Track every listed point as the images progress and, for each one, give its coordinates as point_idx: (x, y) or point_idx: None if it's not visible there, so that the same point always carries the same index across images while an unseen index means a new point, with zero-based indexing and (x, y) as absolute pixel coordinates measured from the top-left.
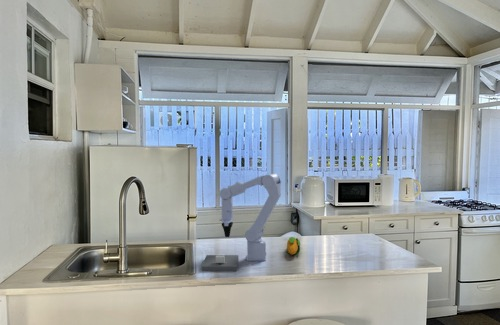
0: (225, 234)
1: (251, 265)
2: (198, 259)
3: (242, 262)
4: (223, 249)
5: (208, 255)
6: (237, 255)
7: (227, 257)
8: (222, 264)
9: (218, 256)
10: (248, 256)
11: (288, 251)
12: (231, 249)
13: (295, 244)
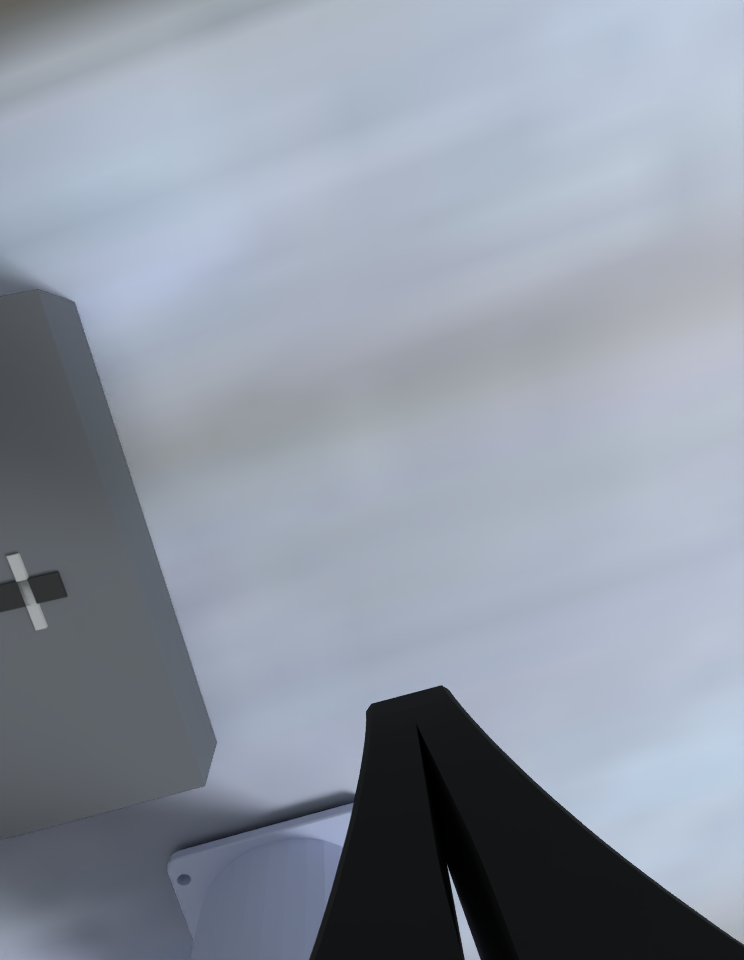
0: (365, 784)
1: (33, 939)
2: (10, 162)
3: (104, 822)
4: (588, 421)
5: (30, 335)
6: (182, 779)
7: (38, 678)
8: None
9: None
10: (218, 896)
11: None
12: (599, 534)
13: None
